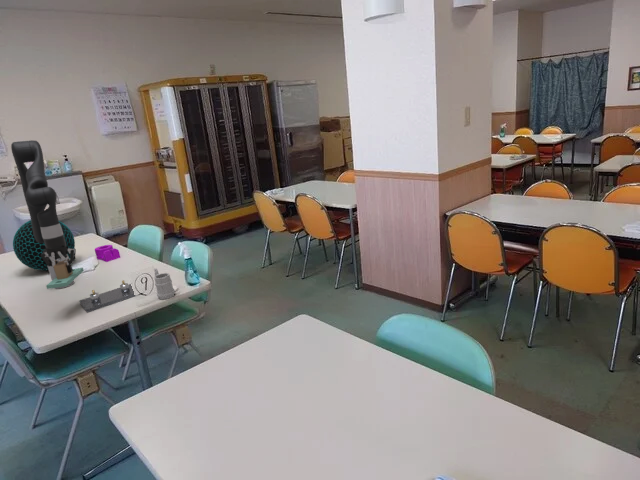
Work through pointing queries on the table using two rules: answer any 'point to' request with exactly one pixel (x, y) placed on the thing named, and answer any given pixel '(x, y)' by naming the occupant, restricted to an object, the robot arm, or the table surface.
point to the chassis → (107, 297)
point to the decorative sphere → (36, 246)
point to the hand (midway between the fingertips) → (64, 273)
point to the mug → (163, 285)
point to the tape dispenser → (107, 253)
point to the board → (64, 281)
